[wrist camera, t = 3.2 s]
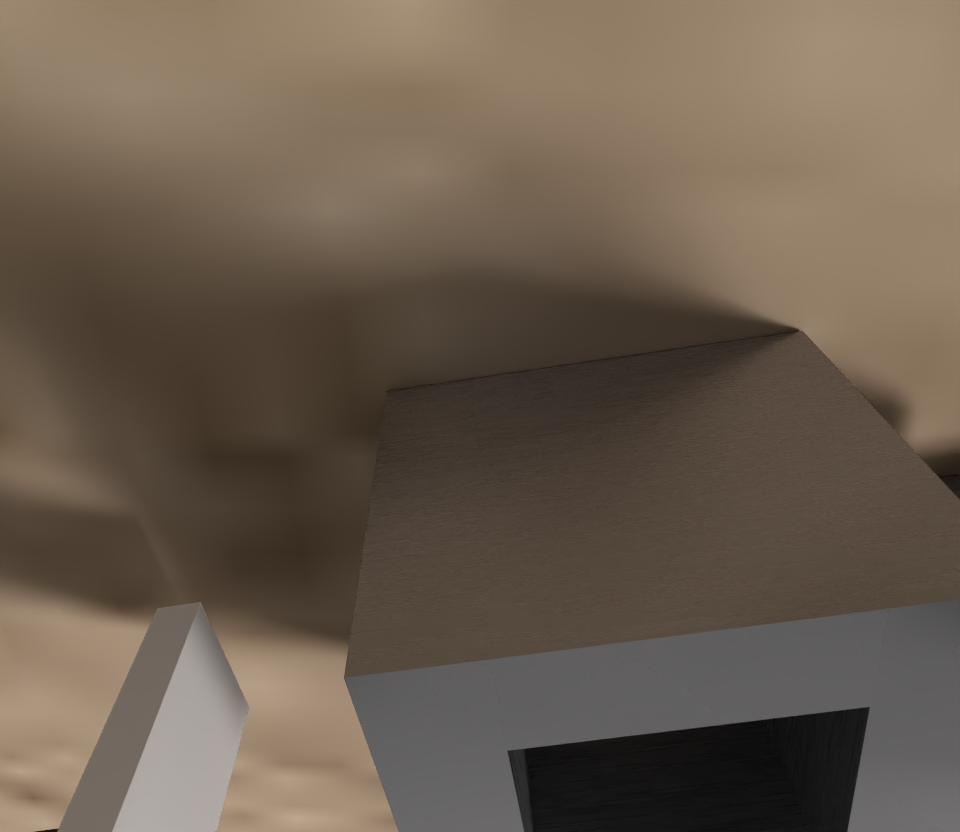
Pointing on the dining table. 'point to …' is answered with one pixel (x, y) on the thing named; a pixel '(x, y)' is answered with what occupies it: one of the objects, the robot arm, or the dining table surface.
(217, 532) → the dining table surface
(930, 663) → the grey square sleeve
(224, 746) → the robot arm
